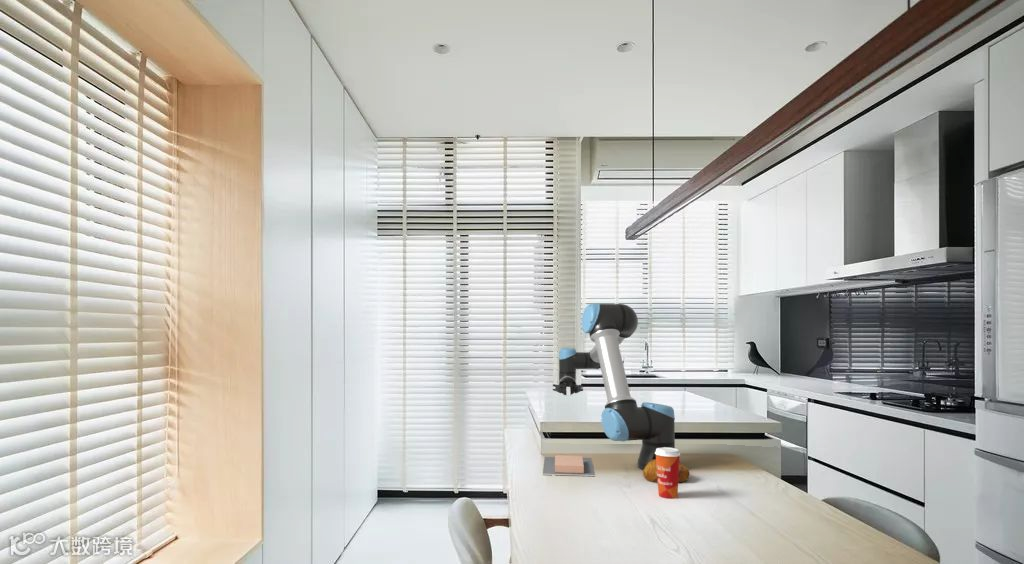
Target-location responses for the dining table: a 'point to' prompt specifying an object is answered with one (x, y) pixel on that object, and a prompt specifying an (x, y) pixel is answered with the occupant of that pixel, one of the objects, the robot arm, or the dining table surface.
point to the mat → (550, 469)
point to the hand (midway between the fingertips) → (568, 392)
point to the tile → (568, 464)
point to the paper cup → (667, 471)
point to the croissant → (651, 472)
